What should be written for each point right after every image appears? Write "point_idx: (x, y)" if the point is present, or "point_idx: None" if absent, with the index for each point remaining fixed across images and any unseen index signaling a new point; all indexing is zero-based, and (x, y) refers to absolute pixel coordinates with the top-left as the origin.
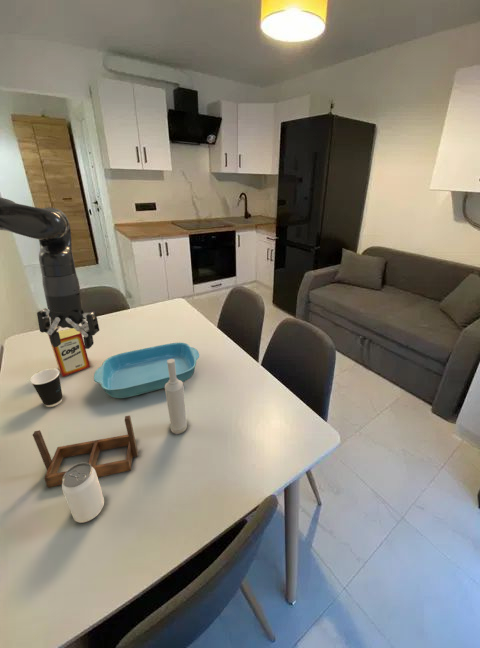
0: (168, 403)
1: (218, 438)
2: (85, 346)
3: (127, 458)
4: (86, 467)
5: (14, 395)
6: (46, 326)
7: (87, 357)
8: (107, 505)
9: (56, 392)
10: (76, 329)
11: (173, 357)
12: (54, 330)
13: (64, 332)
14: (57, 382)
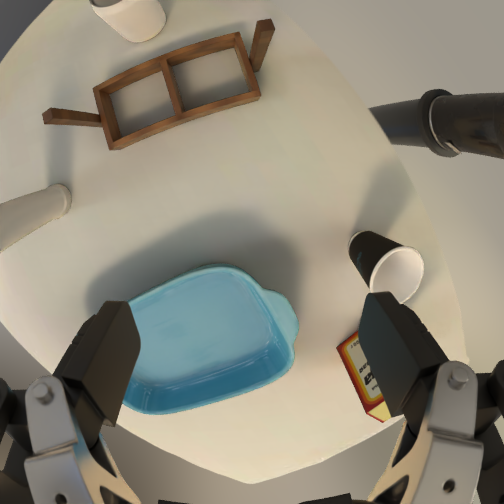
0: (16, 203)
1: (7, 189)
2: (113, 311)
3: (96, 92)
4: (104, 2)
5: (432, 256)
6: (487, 424)
7: (344, 364)
8: (118, 35)
9: (359, 252)
10: (68, 472)
11: (163, 384)
12: (425, 426)
13: None
14: (365, 270)
